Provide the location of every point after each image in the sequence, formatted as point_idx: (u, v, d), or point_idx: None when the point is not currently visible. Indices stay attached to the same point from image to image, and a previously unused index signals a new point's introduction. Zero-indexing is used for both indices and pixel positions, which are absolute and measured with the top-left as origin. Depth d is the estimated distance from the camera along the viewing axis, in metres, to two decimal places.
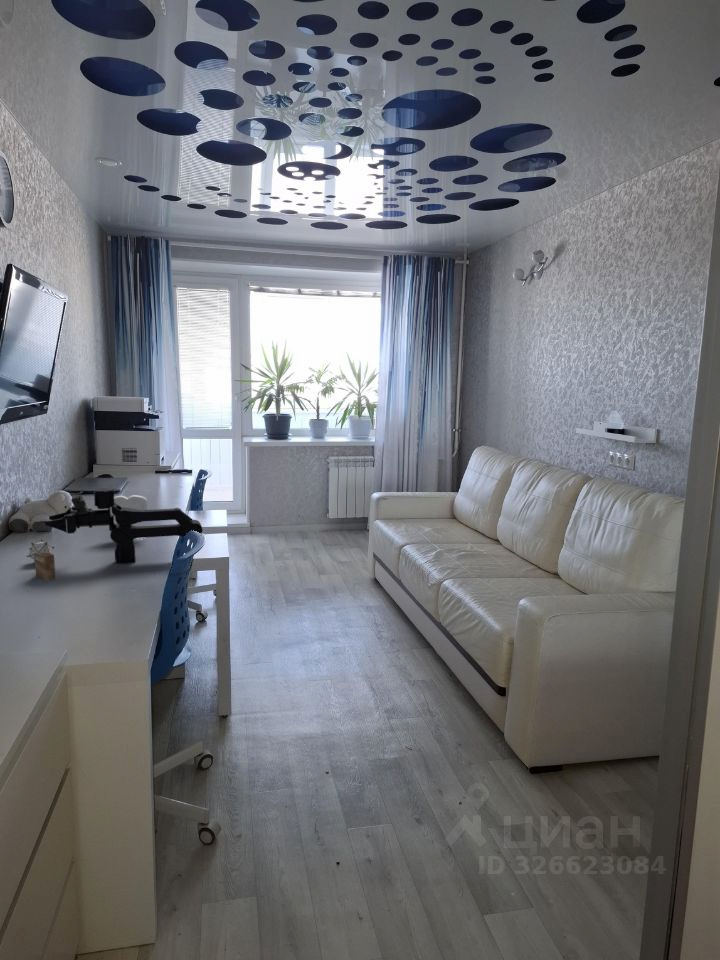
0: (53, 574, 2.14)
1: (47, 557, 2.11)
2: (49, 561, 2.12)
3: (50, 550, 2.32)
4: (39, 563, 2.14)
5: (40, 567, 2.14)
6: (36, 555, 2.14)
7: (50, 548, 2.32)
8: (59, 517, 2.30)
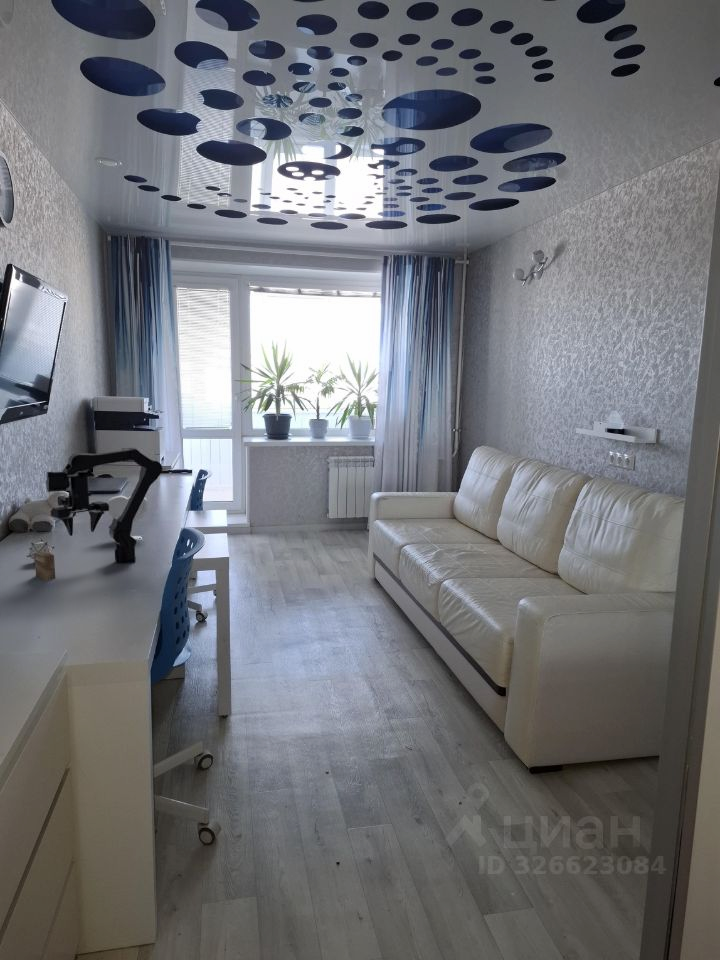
0: (53, 574, 2.14)
1: (47, 557, 2.11)
2: (49, 561, 2.12)
3: (50, 550, 2.32)
4: (39, 563, 2.14)
5: (40, 567, 2.14)
6: (36, 555, 2.14)
7: (50, 548, 2.32)
8: (92, 522, 2.28)
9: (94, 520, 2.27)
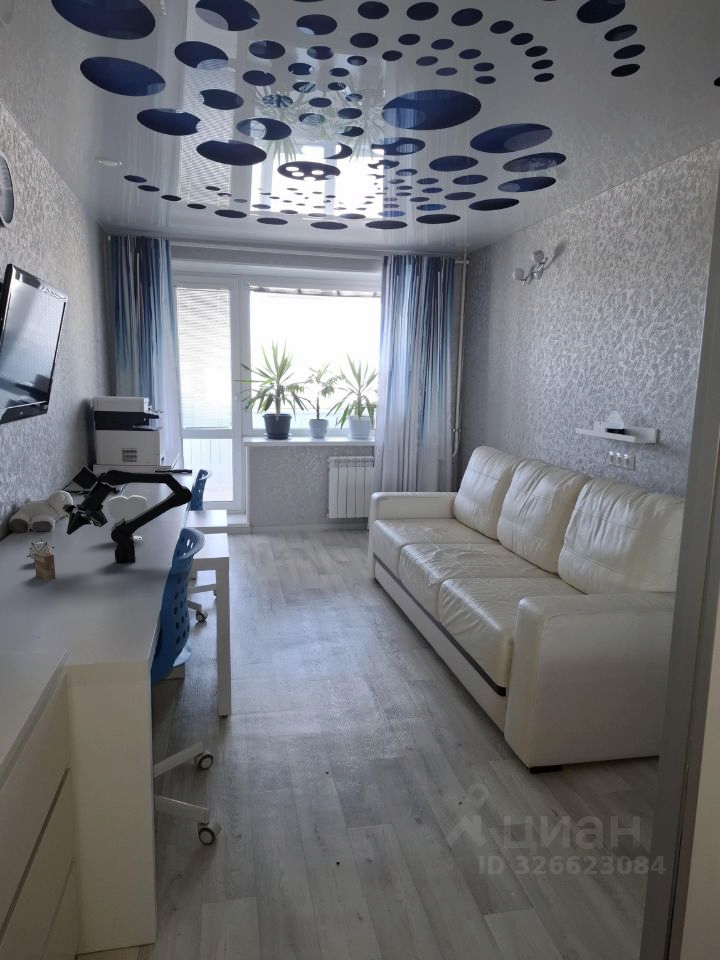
0: (53, 574, 2.14)
1: (47, 557, 2.11)
2: (49, 561, 2.12)
3: (50, 550, 2.32)
4: (39, 563, 2.14)
5: (40, 567, 2.14)
6: (36, 555, 2.14)
7: (50, 548, 2.32)
8: None
9: None
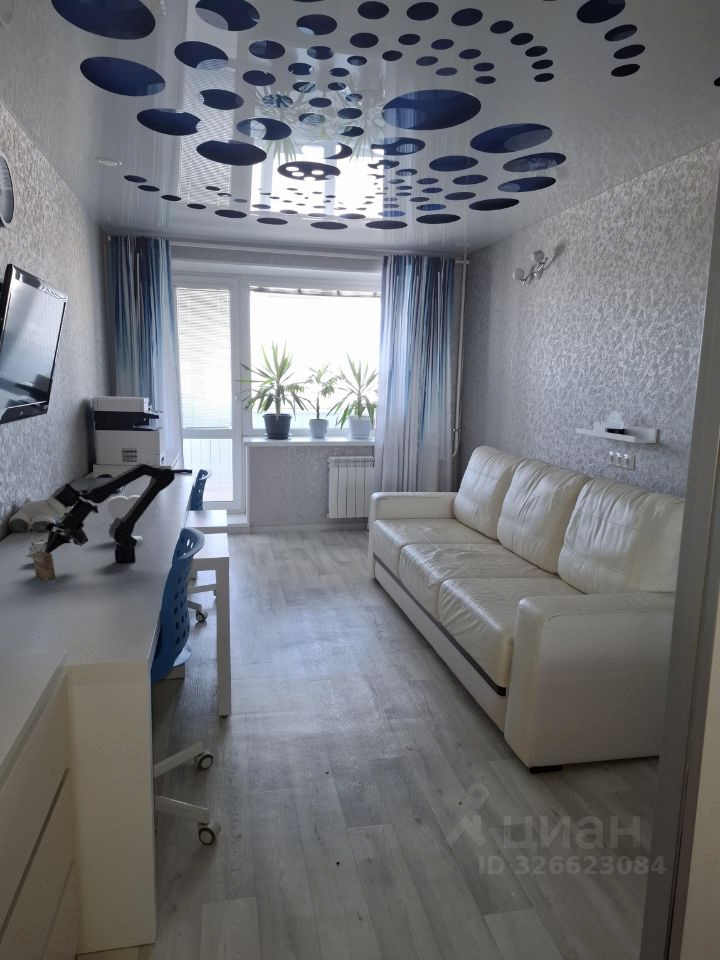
0: (53, 573, 2.14)
1: (45, 557, 2.11)
2: (47, 561, 2.12)
3: None
4: (38, 563, 2.13)
5: (39, 567, 2.13)
6: (34, 555, 2.14)
7: None
8: None
9: None
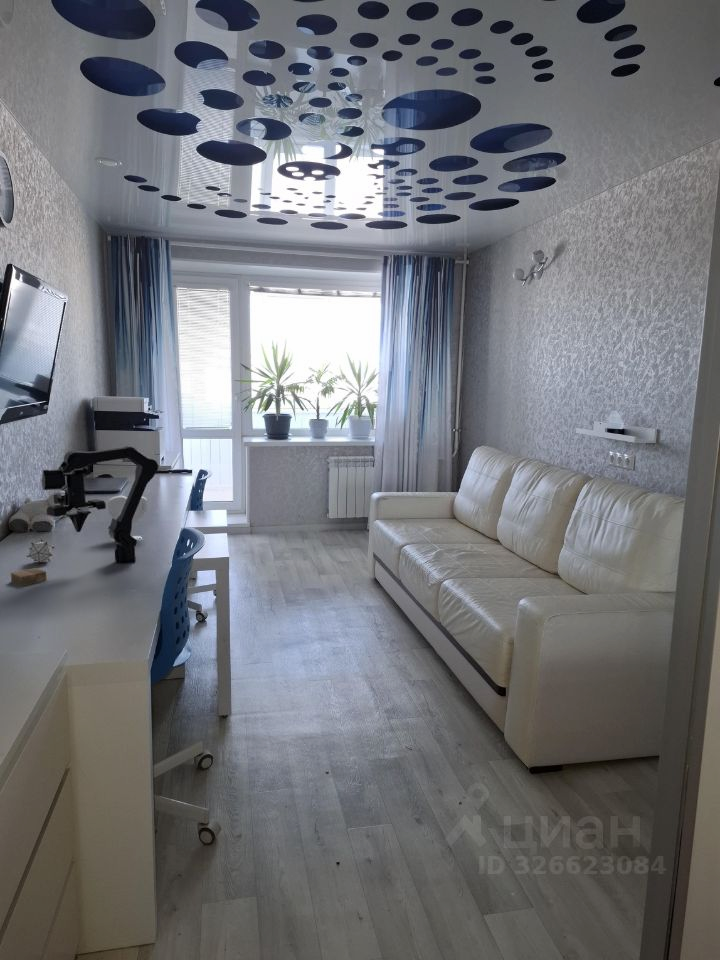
0: (41, 574, 2.11)
1: (23, 583, 2.06)
2: (27, 580, 2.07)
3: (50, 550, 2.32)
4: None
5: None
6: None
7: (50, 548, 2.32)
8: None
9: (80, 520, 2.23)
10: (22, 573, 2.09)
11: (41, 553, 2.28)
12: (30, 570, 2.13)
